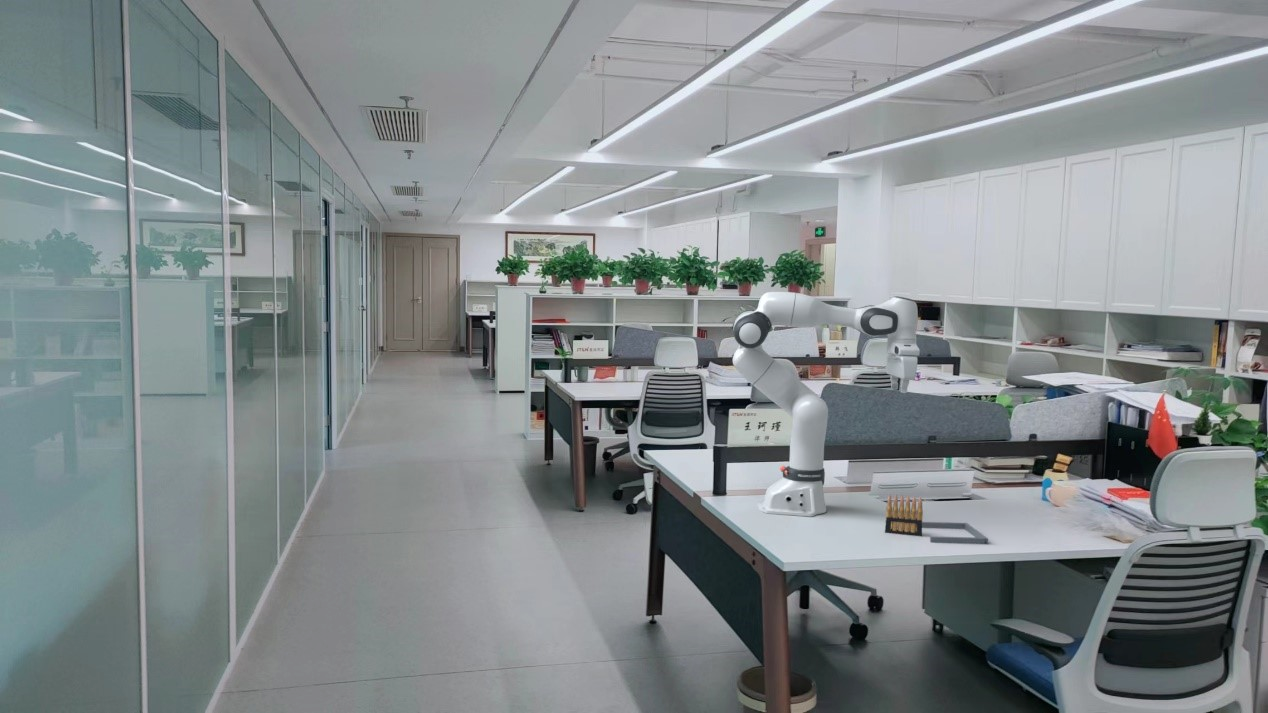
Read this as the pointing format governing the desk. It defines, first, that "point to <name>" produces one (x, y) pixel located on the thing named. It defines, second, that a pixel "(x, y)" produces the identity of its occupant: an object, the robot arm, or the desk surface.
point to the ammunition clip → (905, 523)
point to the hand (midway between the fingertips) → (898, 391)
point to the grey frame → (977, 537)
